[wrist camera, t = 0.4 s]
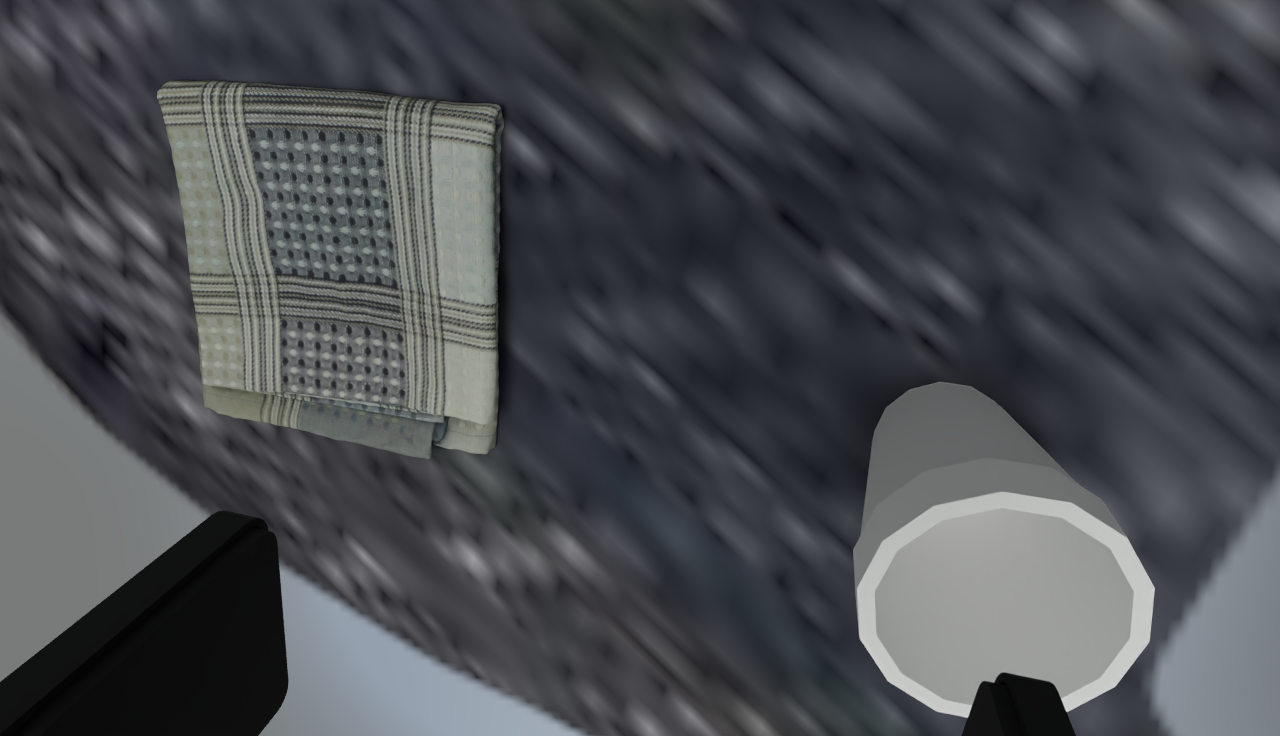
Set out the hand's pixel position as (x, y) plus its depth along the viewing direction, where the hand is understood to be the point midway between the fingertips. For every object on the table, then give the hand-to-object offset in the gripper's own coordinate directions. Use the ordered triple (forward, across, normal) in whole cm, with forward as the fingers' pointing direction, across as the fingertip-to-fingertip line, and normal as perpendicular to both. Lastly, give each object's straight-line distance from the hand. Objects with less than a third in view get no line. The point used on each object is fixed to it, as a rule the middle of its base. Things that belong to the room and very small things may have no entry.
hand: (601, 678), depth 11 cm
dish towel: (+30, +20, +5) cm, 36 cm away
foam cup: (+29, -11, +9) cm, 33 cm away
